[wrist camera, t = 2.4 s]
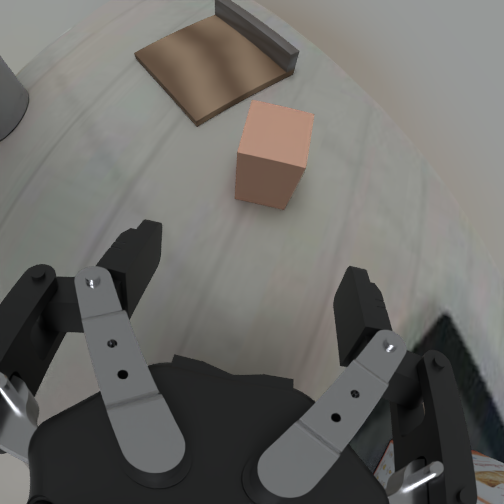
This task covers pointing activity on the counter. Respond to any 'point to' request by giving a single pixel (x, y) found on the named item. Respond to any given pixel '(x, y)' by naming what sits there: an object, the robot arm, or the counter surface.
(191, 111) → the shelf board
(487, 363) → the counter surface
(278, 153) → the carton
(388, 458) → the cracker box
